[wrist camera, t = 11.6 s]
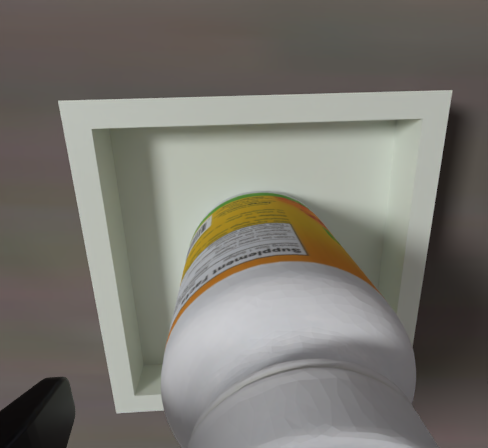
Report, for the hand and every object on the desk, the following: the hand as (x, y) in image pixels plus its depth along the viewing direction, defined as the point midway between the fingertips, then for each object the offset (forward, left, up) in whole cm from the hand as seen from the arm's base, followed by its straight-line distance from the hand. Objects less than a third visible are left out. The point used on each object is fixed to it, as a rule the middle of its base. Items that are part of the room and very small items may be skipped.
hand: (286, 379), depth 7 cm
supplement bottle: (0, 0, -7) cm, 7 cm away
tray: (0, 0, -8) cm, 8 cm away
